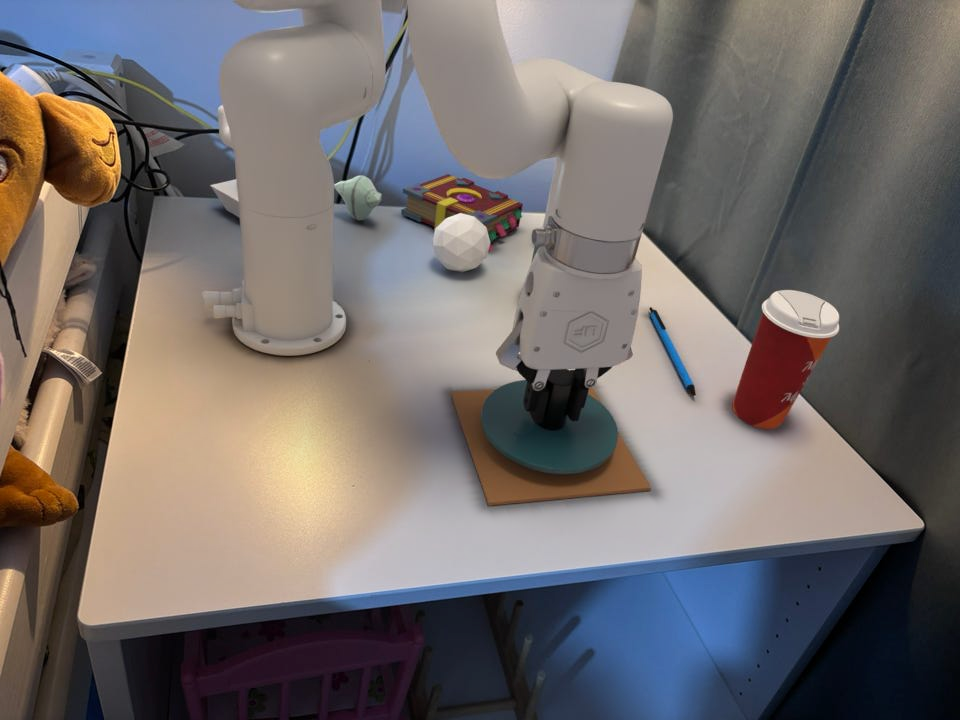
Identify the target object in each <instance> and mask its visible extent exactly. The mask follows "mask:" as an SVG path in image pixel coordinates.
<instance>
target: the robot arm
mask: <svg viewBox="0 0 960 720" xmlns="http://www.w3.org/2000/svg"><path fill="white" fill-rule="evenodd" d="M231 1H232V2H233V3H235V4H236V5H238V6H239V7H241V8H243V9H244V10H247V11H252V12H256V13H264V14H265V13H266V14H267V13H281V12H289V11H299V10H300V13H301V18H302V24H303V25H292V26H286V27H279V28H272V29H267V30H262V31H258V32H255V33H252V34H249V35H247V36H245V37H243V38H241V39H240V40H238V41H236V42H235V43H234V44H233V45H232V46H231V47H230V48H229V49H228V50H227V51H226V53H225V54H224V56H223V58H222V60H221V62H220V67H219V70H218V91H219V96H220V100H221V105H223V108H224V112H225V115H226V119H227V123H228V126H229V130H230V135H231V139H232V144H233V148H232V150H233V156H234V166H235V165H236V169H235V176H236V175H237V188H238V199H239V213H240V218H239V225H240V226H239V227H240V239H241V241H240V242H241V254H242V255H241V256H242V270H243V279H242V280H241V287H240V288H232V291H220V290H203V291H202V308H203V309H212V315H213V319H226V318H232V319H231V322H232V323H231V324H232V331H233V333H234V335H235V337H236V338H237V339H238V341H240V342H241V343H242V344H243V345H245V346H246V347H248V348H251V349H252V350H255V351H258V352H261V353H264V354H269V355H273V356H274V355H275V356H286V357H288V356H289V357H290V356H303V355H310V354H313V353H317V352H320V351H322V350H325V349H328V348H329V347H331V346H333V345H334V344H336V343H337V342H339V340H340V339H341V338H342V337H343V336H344V334H345V332H346V328H347V316H346V312H345V311H344V309H343V307H341V306H340V305H339V304H338V303H337V302H336V301H334V241H335V240H334V237H335V236H334V234H335V232H334V231H335V188H334V184H335V180H334V172H333V170H332V166H331V163H330V160H329V158H328V156H327V154H326V153H325V150H324V148H323V145H322V142H321V136H320V135H321V133H322V131H325V130H328V129H330V128H332V127H335V126H338V125H341V124H344V123H348V122H350V121H352V120H355V119H359V118H361V117H363V116H365V115H366V114H368V113H369V112H371V111H372V110H373V109H374V108H375V107H376V106H377V104H378V103H379V101H380V99H381V98H382V96H383V95H382V94H383V92H384V87H385V84H386V83H385V82H386V73H387V72H386V71H387V70H386V49H385V48H386V47H385V35H384V23H383V22H384V21H383V20H384V19H383V11H382V10H383V9H382V0H231ZM497 5H498V4H497V0H407V29H408V42H409V49H410V52H411V57H412V62H413V65H414V68H415V72H416V75H417V77H418V81H419V83H420V86H421V89H422V93H423V94H424V97H425V100H426V102H427V105H428V108H429V111H430V114H431V116H432V118H433V121H434V123H435V126H436V128H437V130H438V133H439V135H440V137H441V139H442V140H443V142H444V145H445V146H446V148H447V149H448V151H449V152H450V154H451V155H452V156H453V158H454V159H455V160H456V162H458V163H459V164H460V165H461V167H462V168H464V169H465V170H466V171H468V172H470V173H471V174H473V175H474V176H477V177H480V178H484V179H489V180H501V179H507V178H510V177H513V176H515V175H516V174H519V173H522V172H524V171H525V170H527V169H528V168H530V167H532V166H534V165H535V164H537V163H539V162H540V161H542V160H546V159H552V158H553V159H554V158H556V157H559V158H561V160H562V163H561V168H560V173H559V178H558V183H557V188H556V193H555V198H554V203H553V209H552V214H551V216H549V217H548V222H547V225H546V227H543V226H542V227H541V228H538V227H537V228H535V227H534V228H533V229H532V232H531V243H532V245H533V246H535V245H541V246H542V247H539V248H538V250H537V252H536V254H535V256H534V259H533V261H532V260H531V262H530V263H531V264H530V266H529V268H528V271H527V273H526V276H525V279H524V282H523V285H522V288H521V291H520V295H519V299H518V302H517V305H516V310H515V314H514V319H513V324H512V330H511V332H510V333H509V335H507V336H506V338H505V339H504V341H503V342H502V343H501V344H500V346H499V347H498V348H497V350H496V351H495V356H496V358H497V360H498V363H499V364H500V365H501V366H503V367H506V368H508V369H510V370H511V371H516V372H518V374H519V375H520V376H521V377H522V378H523V380H527V385H526V390H525V395H524V400H523V403H524V408H525V410H526V411H529V412H530V415H531V417H532V419H533V421H534V423H535V424H539V423H541V422H543V418H544V413H545V409H546V405H547V400H548V396H549V391H548V389H547V387H546V382H547V379H548V376H549V373H550V370H557V369H568V370H570V371H571V372H572V373H573V374H574V375H575V377H576V382H575V386H574V390H573V394H572V398H571V402H570V406H569V410H568V414H567V415H568V417H569V419H570V420H572V421H578V420H579V416H580V412H581V408H584V406H585V402H586V398H587V395H588V391H589V388H594V387H596V385H597V383H598V379H599V378H600V377H602V376H603V375H604V374H606V373H607V372H609V371H610V370H611V369H613V367H615V366H619V365H621V364H622V363H624V362H626V361H628V360H630V359H632V357H633V350H632V347H631V346H632V343H633V339H634V334H635V331H636V326H637V320H638V315H639V307H640V302H641V293H642V292H641V291H642V279H643V277H642V276H643V266H642V263H641V262H640V261H639V260H638V259H637V258H636V256H637V253H638V249H639V245H640V242H641V238H642V235H643V231H644V228H645V224H646V220H647V216H648V214H649V213H648V212H649V209H650V206H651V202H652V198H653V194H654V192H655V187H656V185H657V181H658V177H659V173H660V170H661V166H662V163H663V159H664V155H665V152H666V148H667V145H668V142H669V141H668V140H669V137H670V134H671V130H672V125H673V121H674V120H673V119H674V113H673V108H672V105H671V103H670V102H669V101H668V99H667V98H666V97H665V96H664V95H662V94H660V93H658V92H656V91H654V90H652V89H650V88H646V87H643V86H639V85H635V84H632V83H625V82H618V81H607V80H604V79H602V78H599V77H598V76H595V75H593V74H591V73H588V72H586V71H584V70H581V69H580V68H578V67H576V66H573V65H572V64H569V63H566V62H564V61H562V60H558V59H554V58H550V57H549V58H548V57H534V58H529V59H526V60H522V61H519V62H516V63H513V61H512V59H511V55H510V52H509V50H508V45H507V43H506V40H505V37H504V33H503V30H502V25H501V21H500V16H499V11H498V6H497Z"/></svg>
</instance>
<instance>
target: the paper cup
mask: <svg viewBox="0 0 960 720" xmlns="http://www.w3.org/2000/svg"><path fill="white" fill-rule="evenodd" d="M761 311H762V313H761V317H760V320H759V323H758V325H757V329H756V331H755V334H754V337H753V340H752V343H751V346H750V349H749V352H748V355H747V358H746V361H745V364H744V366H743V370H742V373H741V376H740V379H739V382H738V385H737V388H736V391H735V394H734V397H733V401H732V410H733V412H734V414H735V415H736V416H737V417H738V418H739V419H740V420H741V421H743V422H744V423H746V424H748V425H750V426H752V427H755V428H760V429H765V430H773V429H776V428H779V427H780V426H781V425H782V423H783V422H784V421H785V419H786V417H787V416H788V414H789V412H790V411H791V409H792V407H793V406H794V404H795V402H796V400H797V398H798V397H799V395H800V394H801V391H802V390H803V388H804V386H805V385H806V383H807V382H808V380H809V378H810V377H811V374H812V372H813V370H814V369H815V367H816V366H817V364H818V362H819V361H820V358H821V356H822V354H824V351H825V350H826V347H827V346H828V344H829V343H830V340H831V339H832V337H835V336H836V335H837V334H838V333H839V332H840V324H839V321H840V313H839V312H838V310H837V309H836V308H835V307H834V306H833V305H832V304H831V303H829V302H827V301H826V300H824V299H822V298H820V297H818V296H815V295H814V294H811V293H808V292H803V291H800V290H795V289H794V290H793V289H783V290H776V291H774V292H773V293H771V294H770V296H769V298H767V299H766V300H764V301H763V302H762V304H761Z"/></svg>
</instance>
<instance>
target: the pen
mask: <svg viewBox="0 0 960 720" xmlns="http://www.w3.org/2000/svg"><path fill="white" fill-rule="evenodd" d="M649 316H650V318H651V319H652V321H653V324H654V326H655V328H656V330H657V332H658V334H659V336H660V337H661V340H662V343H663V344H664V346H665V349H666V350H667V352H668V354H669V356H670V358H671V360H672V362H673V364H674V367H675V368H676V370H677V372H678V374H679V376H680V378H681V380H682V382H683V385H684V386H685V388H686V390H687V391H688V392H689V393H690V394H691V395H692V396H693V397H694V398H696V397H697V393H696V388H695V385H694V383H693V381H692V378H691V377H690V375H689V373H688V370H687V369H686V367H685V365H684V363H683V361H682V360H681V359H682V358H681V357H680V355H679V353H678V351H677V350H676V347H675V346H674V343H673V341H672V340H671V338H670V336H669V334H668V332H667V330H666V329H667V328H666V326H665V324H664V322H663V321H662V318H661V317H660V314H659V313H658V311H657V310H656V309H654V308H653V307H652V306H651V307H649Z"/></svg>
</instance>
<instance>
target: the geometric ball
mask: <svg viewBox="0 0 960 720" xmlns="http://www.w3.org/2000/svg"><path fill="white" fill-rule="evenodd" d="M431 244H432V248H433V251H434V255H435V259H436V260H437V261H438V262H439V263H441V264H442V265H443V266H444V267H445V268H446V269H447V270H449V271H454V272H458V273H464V272H468V271H470V270H473V269H476V268H478V267H479V266H480V265H481V264H482V263H483V262H484V261H485V260H486V259H487V257H488V253H489V252H490V251H489V247H490V244H491V242H490V239H489V235H488V232H487V228H486V227H485V226H484V225H483V224H482V223H481V222H480V221H479V220H478V219H477V218H476V217H474V216H470V215H466V214H462V213H459V214H457V215H454V216H451V217H449V218H446V219H445V220H444V221H443V222H442V223H441V224H440V225H439V226H438V227H437V228H436V229H435V230H434V232H433V238H432V243H431Z"/></svg>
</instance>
